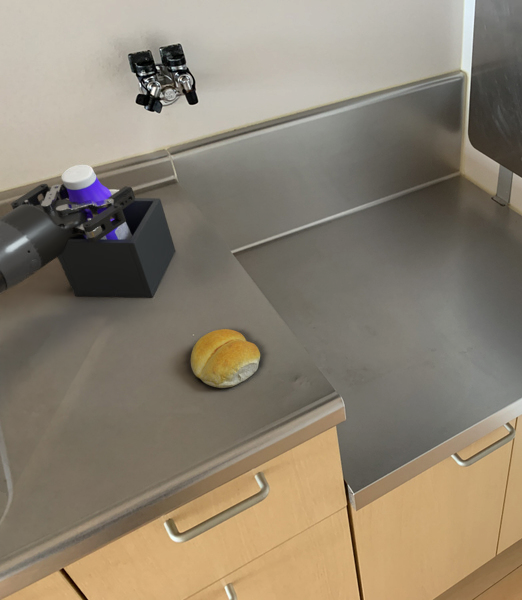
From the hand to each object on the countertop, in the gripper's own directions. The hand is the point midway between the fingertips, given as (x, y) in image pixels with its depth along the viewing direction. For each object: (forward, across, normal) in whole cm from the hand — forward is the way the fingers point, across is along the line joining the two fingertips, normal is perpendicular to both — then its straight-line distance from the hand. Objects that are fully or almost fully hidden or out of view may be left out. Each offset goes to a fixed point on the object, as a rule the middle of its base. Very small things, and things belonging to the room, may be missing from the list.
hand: (108, 185), depth 87 cm
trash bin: (-2, 0, +14) cm, 15 cm away
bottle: (-2, 0, +13) cm, 13 cm away
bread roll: (-12, -26, +15) cm, 32 cm away
